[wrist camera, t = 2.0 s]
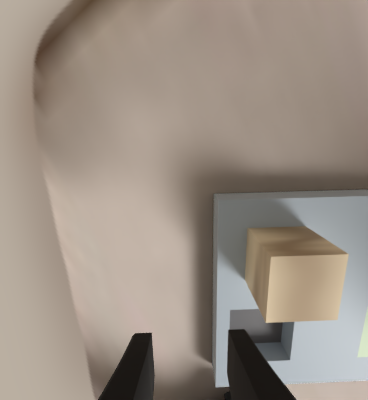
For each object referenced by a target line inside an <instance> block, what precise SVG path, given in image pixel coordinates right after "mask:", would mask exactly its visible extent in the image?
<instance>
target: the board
mask: <svg viewBox="0 0 368 400" xmlns="http://www.w3.org/2000/svg"><path fill="white" fill-rule="evenodd" d="M296 226H306V227H308V228H309V229H311V230H312V231H314V232H315V233H317V234H318V235H320V236H322V237H323V238H325V239H326V240H328V241H329V242H331V243H332V244H334V245H335V246H337V247H338V248H340V249H342V250H343V251H345V252H346V253H348V254H349V256H348V262H347V268H346V273H345V279H344V285H343V291H342V297H341V303H340V308H339V314H338V320H325V321H300V322H275V323H266V322H265V320H264V318H263V316H262V314H261V312H260V310H259V308H258V306H257V304H256V302H255V300H254V298H253V296H252V294H251V292H250V290H249V288H248V286H247V283H246V281H245V266H246V245H247V228H264V227H296ZM233 329H245V330H246V331H247V332H248V334H249V336H250V337H251V339H252V340H253V342H254V343H255V345H256V346H257V348H258V349H259V350H260V352H261V353H262V355H263V356H264V358H265V359H266V360H267V362H268V363H269V365H270V366H271V367H272V369H273V370H274V371H275V373H276V374H277V375H278V377H279V378H280V379H281V381H282V382H283V383H284V384H300V383H322V382H344V381H367V380H368V189H361V190H326V191H291V192H255V193H220V194H214V215H213V322H212V367H213V373H214V380H215V386H216V387H229V382H228V376H227V352H228V330H233Z"/></svg>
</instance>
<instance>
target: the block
mask: <svg viewBox="0 0 368 400" xmlns="http://www.w3.org/2000/svg"><path fill="white" fill-rule="evenodd" d="M348 256H349V254H348V253H346V252H345V251H343V250H342V249H340V248H338V247H337V246H335V245H334V244H332V243H331V242H329V241H328V240H326V239H325V238H323V237H322V236H320V235H318V234H317V233H315V232H314V231H312V230H311V229H309V228H308V227H306V226H296V227H264V228H247V245H246V266H245V281H246V283H247V286H248V288H249V290H250V292H251V294H252V296H253V298H254V300H255V302H256V304H257V306H258V308H259V310H260V312H261V314H262V316H263V318H264V320H265V322H266V323H275V322H300V321H325V320H338V314H339V308H340V303H341V297H342V291H343V285H344V279H345V273H346V268H347V262H348Z"/></svg>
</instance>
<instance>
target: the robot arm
mask: <svg viewBox="0 0 368 400" xmlns="http://www.w3.org/2000/svg"><path fill="white" fill-rule="evenodd" d="M154 376H155V375H154V360H153V346H152V333H135V334H134V335H133V336H132V338H131V341H130V343H129V345H128V347H127V349H126V351H125V353H124V355H123V357H122V359H121V361H120V362H119V364H118V366H117V368H116V370H115V372H114V373H113V375H112V377H111V378H110V380H109V382H108V384H107V385H106V387H105V389H104V391H103V392H102V394H101V396H100V397H99V399H98V400H153V391H154ZM227 376H228V382H229V388H230V394H231V400H296V398H295V397H294V396H293V395H292V394H291V392H290V391H289V390H288V388H287V387H286V386H285V384H284V383H283V382H282V381H281V379H280V378H279V377H278V375H277V374H276V373H275V371H274V370H273V369H272V367H271V366H270V365H269V363H268V362H267V360H266V359H265V358H264V356H263V355H262V353H261V352H260V350H259V349H258V348H257V346H256V345H255V343H254V342H253V340H252V339H251V337H250V336H249V334H248V332H247V331H246V330H245V329H233V330H228V352H227Z"/></svg>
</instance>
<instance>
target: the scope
mask: <svg viewBox="0 0 368 400" xmlns="http://www.w3.org/2000/svg"><path fill="white" fill-rule="evenodd" d="M224 396H225V400H231V394H230V392H227V393H225V394H224Z"/></svg>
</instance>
